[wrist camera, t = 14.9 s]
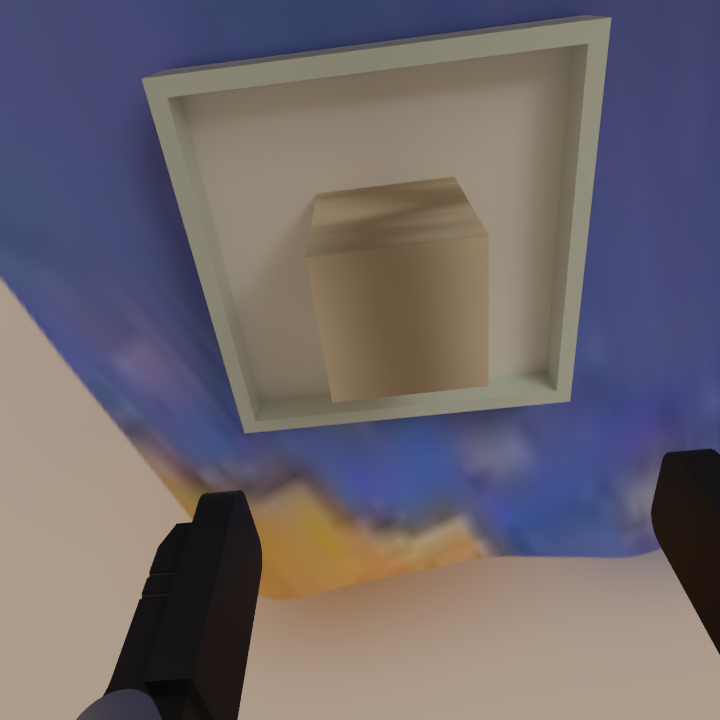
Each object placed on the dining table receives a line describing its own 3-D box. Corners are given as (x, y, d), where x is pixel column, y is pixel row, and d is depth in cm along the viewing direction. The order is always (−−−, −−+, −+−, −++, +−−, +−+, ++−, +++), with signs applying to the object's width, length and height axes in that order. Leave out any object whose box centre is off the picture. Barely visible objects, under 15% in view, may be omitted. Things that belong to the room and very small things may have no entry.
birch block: (454, 176, 20) (488, 235, 15) (457, 300, 23) (488, 386, 18) (316, 193, 21) (305, 257, 16) (336, 314, 23) (331, 402, 18)
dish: (583, 14, 18) (611, 17, 16) (553, 371, 26) (569, 401, 24) (162, 70, 19) (141, 78, 17) (252, 401, 27) (244, 433, 25)
